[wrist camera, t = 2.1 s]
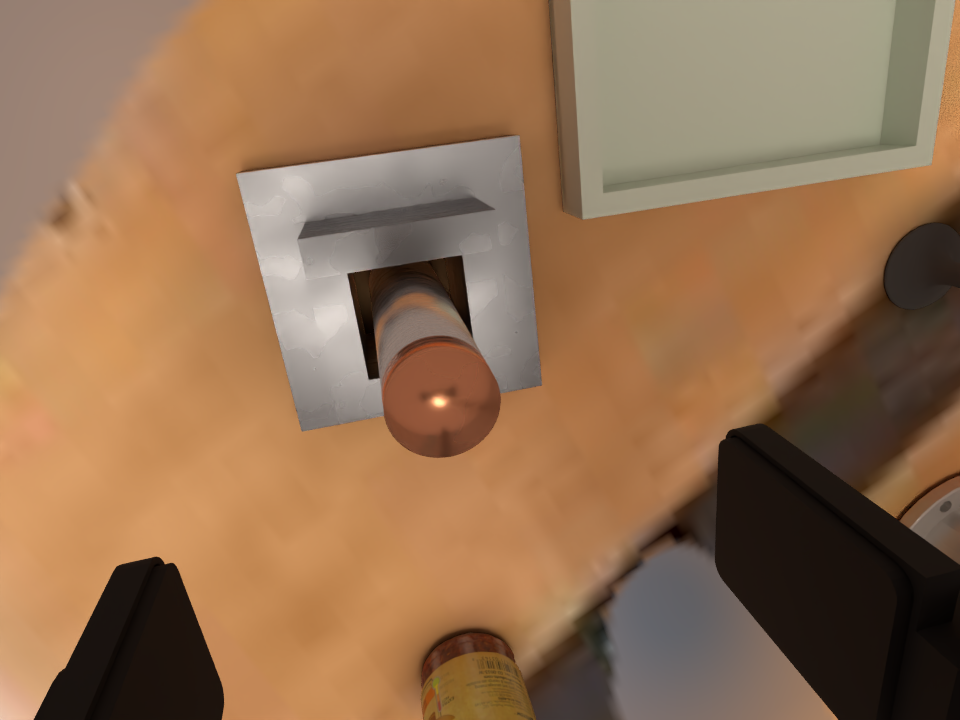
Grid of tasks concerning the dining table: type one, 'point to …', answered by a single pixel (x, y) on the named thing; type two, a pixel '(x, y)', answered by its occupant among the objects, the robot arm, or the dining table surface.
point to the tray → (740, 95)
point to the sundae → (923, 266)
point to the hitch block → (391, 261)
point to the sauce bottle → (474, 681)
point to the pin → (429, 364)
